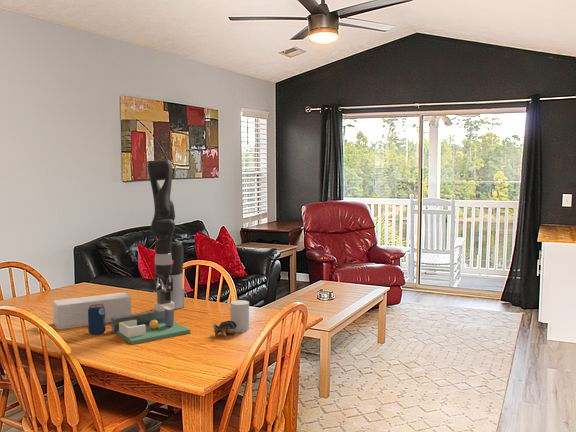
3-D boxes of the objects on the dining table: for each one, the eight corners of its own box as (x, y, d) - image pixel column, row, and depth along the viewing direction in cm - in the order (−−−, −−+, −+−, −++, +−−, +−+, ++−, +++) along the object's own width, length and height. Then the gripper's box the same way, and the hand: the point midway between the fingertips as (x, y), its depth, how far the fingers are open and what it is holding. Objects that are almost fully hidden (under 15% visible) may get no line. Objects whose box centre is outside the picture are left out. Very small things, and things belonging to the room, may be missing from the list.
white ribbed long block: (58, 329, 240) (57, 305, 239) (53, 323, 249) (53, 300, 248) (131, 319, 257) (130, 296, 256) (124, 314, 266) (124, 292, 265)
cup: (251, 327, 245) (251, 301, 244) (244, 332, 237) (244, 305, 236) (235, 325, 247) (235, 299, 246) (227, 330, 240) (227, 303, 239)
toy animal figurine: (220, 337, 227) (239, 330, 231) (214, 321, 229) (232, 314, 233) (215, 342, 233) (233, 335, 237) (208, 327, 235) (227, 320, 240)
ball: (156, 327, 239) (156, 318, 239) (160, 329, 236) (160, 320, 236) (147, 328, 237) (147, 319, 236) (151, 330, 234) (151, 321, 233)
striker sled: (169, 315, 256) (169, 287, 254) (185, 323, 244) (185, 293, 242) (153, 318, 251) (153, 289, 250) (169, 326, 239) (168, 296, 237)
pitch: (173, 324, 249) (173, 321, 249) (190, 332, 236) (190, 329, 236) (117, 334, 233) (117, 331, 233) (132, 344, 220) (132, 341, 220)
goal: (136, 328, 237) (135, 319, 236) (145, 334, 229) (145, 324, 229) (119, 331, 232) (118, 322, 232) (128, 337, 224) (128, 328, 224)
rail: (170, 320, 255) (170, 307, 255) (173, 321, 253) (173, 309, 252) (111, 331, 238) (111, 317, 237) (114, 332, 235) (113, 319, 235)
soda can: (108, 333, 235) (108, 305, 233) (93, 337, 230) (92, 308, 229) (100, 330, 239) (100, 303, 238) (85, 333, 234) (84, 305, 233)
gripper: (178, 264, 246) (178, 300, 247) (164, 260, 257) (164, 294, 258) (162, 266, 241) (162, 302, 242) (148, 261, 252) (149, 296, 254)
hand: (163, 298), depth 250 cm, fingers open, 8 cm apart
